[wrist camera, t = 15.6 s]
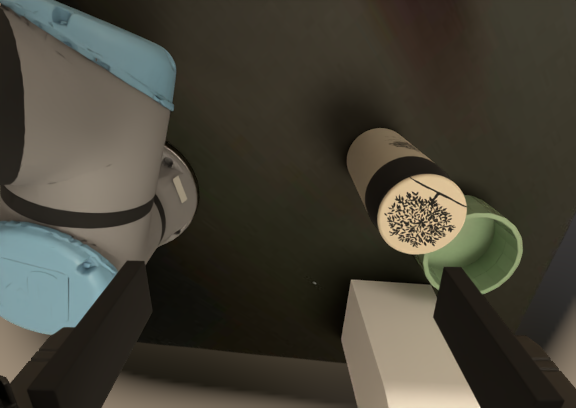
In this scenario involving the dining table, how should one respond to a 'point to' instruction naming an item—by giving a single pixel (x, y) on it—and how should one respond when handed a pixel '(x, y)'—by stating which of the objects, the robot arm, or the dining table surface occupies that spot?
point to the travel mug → (405, 192)
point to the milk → (400, 349)
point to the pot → (478, 249)
